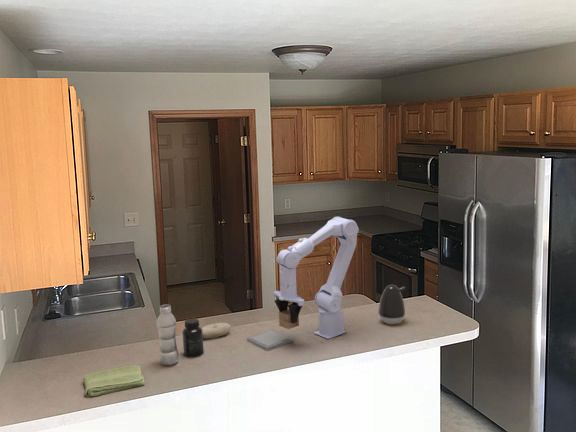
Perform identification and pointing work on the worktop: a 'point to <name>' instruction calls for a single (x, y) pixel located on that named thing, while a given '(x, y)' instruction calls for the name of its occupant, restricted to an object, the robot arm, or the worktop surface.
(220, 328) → the stone
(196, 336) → the supplement bottle
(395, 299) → the pump dispenser
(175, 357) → the plastic bottle
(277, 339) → the grey framed panel
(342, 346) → the worktop surface
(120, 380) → the washcloth
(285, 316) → the cube
